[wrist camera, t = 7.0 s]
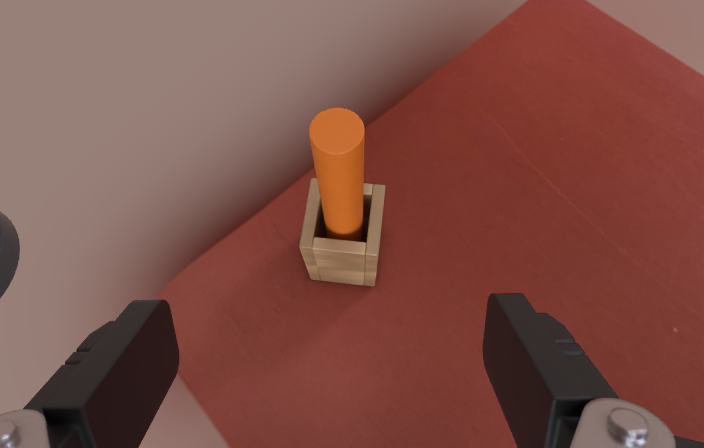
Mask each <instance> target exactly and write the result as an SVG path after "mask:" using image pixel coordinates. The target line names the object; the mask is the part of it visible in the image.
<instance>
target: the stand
mask: <svg viewBox="0 0 704 448" xmlns="http://www.w3.org/2000/svg"><path fill="white" fill-rule="evenodd" d="M384 197H385V185H377V184H374V185H373V184H367V183H364V185H363V235H367V243H365V242H356V241H347V240H337V239H328V238H327V231H326V226H325V220H324V215H323V209H322V203H321V198H320V192H319V187H318V181H317V179H316V178H311V182H310V187H309V193H308V199H307V204H306V210H305V216H304V221H303V227H302V233H301V238H300V244H299V248H300V251H301V254H302V257H303V259H304V262H305V265H306V268H307V270H308V273H309V276H310V279H312V280H321V281H329V282H337V283H346V284H355V285H365V286H375V280H376V272H377V264H378V256H379V246H380V236H381V227H382V217H383V207H384Z"/></svg>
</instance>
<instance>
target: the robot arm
mask: <svg viewBox="0 0 704 448" xmlns="http://www.w3.org/2000/svg"><path fill="white" fill-rule="evenodd" d="M584 353H585V352H584V351H583V350H582V348H581V347H580V346H579V344H578V343H575V339H574V338H573V337H572V335H571V334H570V333H569V331H568V330H567V329H566V327H565V326H564V325H563V324H561V323H560V322H558V321H557V320H556V319H554V318H553V317H551V316H550V315H548V314H547V313H536V312H535V310H534V309H533V307H532V306H531V304H530V303H529V301H528V300H527V299H526V297H525V296H524V295H523V294H522V293H501V294H490V296H489V298H488V303H487V312H486V321H485V330H484V340H483V359H484V365H485V369H486V372H487V374H488V377H489V379H490V382H491V384H492V386H493V389H494V391H495V394H496V396H497V398H498V401H499V403H500V406H501V408H502V411H503V413H504V415H505V418H506V420H507V423H508V425H509V427H510V430H511V432H512V435H513V437H514V439H515V442H516V444H517V447H518V448H704V443H702V442H698V441H694V440H689V439H685V438H681V437H677V436H673V435H672V433H671V431H670V430H669V428H668V427H667V426H666V425H665V424H664V423H663V422H662V421H661V420H660V419H659V418H658V417H657V416H655V415H654V414H653V413H651V412H650V411H648V410H646V409H644V408H643V407H641V406H638V405H636V404H634V403H631V402H628V401H625V400H621V399H619V397H618V396H617V395H616V393H615V392H614V391H613V389H612V388H611V387H610V385H609V384H608V383H607V381H606V380H605V379H604V377H603V376H602V375H601V373H600V372H599V371H598V369H597V368H596V367H595V366H594V364H593V363H592V362H591V360H590V359H589V358H588V356H585V354H584ZM178 366H179V349H178V344H177V339H176V334H175V329H174V325H173V320H172V315H171V310H170V306H169V304H168V302H167V301H166V300H135V301H132V302H131V303H130V304H129V305H128V306H127V307H126V309H125V310H124V311H123V312H122V313H121V314H120V316H119V317H118V318H117V319H116V320H115V321H110V322H108V323H106V324H105V325H103V326H102V327H100V328H99V329H97V330H96V331H94V332H92V333H91V334H90V335H89V336H88V337H87V338H86V339H85V340H84V341H83V342H82V344H81V345H80V346H79V347H78V348H77V351H76V352H74V353H73V354H72V355H71V356H70V357H69V358H68V359H67V360H66V361H65V365H62V366H61V367H60V368H59V369H58V370H57V372H56V373H55V374H54V375H53V376H52V377H51V378H50V379H49V381H48V382H47V383H46V384H45V385H44V386H43V387H42V388H41V389H40V391H39V392H38V393H37V394H36V395H35V396H34V398H32V400H31V401H30V402H29V403H28V404H27V405H26V406H25V407H24V408H23V410H16V411H11V412H7V413H4V414H1V415H0V448H138V447H139V445H140V444H141V441H142V440H143V438H144V436H145V434H146V432H147V430H148V428H149V426H150V424H151V423H152V421H153V419H154V417H155V415H156V413H157V411H158V409H159V407H160V405H161V403H162V401H163V400H164V398H165V396H166V394H167V392H168V390H169V388H170V386H171V384H172V382H173V381H174V379H175V377H176V374H177V371H178Z"/></svg>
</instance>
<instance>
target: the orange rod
mask: <svg viewBox="0 0 704 448" xmlns="http://www.w3.org/2000/svg"><path fill="white" fill-rule="evenodd" d="M364 135H365V129H364V125H363V122H362V120H361V119H360V118H359V116H358V115H357V114H355V113H354V112H352V111H350V110H348V109H343V108H331V109H327V110H324V111H322V112H321V113H319V114H318V115H317V116H316V117H315V118H314V119H313V121H312V122H311V124H310V128H309V136H310V142H311V148H312V153H313V159H314V164H315V170H316V176H317V181H318V187H319V192H320V198H321V203H322V209H323V215H324V220H325V226H326V231H327V237H328V239H337V240H347V241H356V242H362V234H363V185H364Z"/></svg>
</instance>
